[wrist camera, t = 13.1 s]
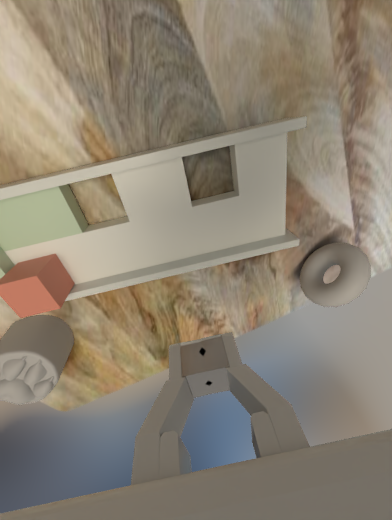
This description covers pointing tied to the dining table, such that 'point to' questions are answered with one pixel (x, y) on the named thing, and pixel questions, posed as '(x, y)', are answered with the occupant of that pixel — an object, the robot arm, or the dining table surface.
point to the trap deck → (154, 213)
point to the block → (36, 286)
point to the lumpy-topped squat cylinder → (33, 358)
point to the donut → (346, 284)
